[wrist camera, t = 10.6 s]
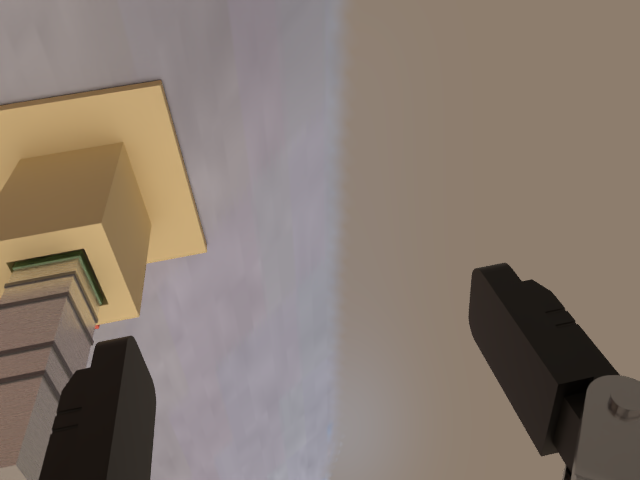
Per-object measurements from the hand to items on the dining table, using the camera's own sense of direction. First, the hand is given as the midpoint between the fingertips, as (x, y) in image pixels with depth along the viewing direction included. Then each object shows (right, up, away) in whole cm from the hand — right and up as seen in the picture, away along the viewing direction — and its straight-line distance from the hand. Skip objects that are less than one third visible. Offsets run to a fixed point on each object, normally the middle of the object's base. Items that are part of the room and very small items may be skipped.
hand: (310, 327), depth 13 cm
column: (-18, +2, +27) cm, 32 cm away
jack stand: (-19, +7, +33) cm, 39 cm away
